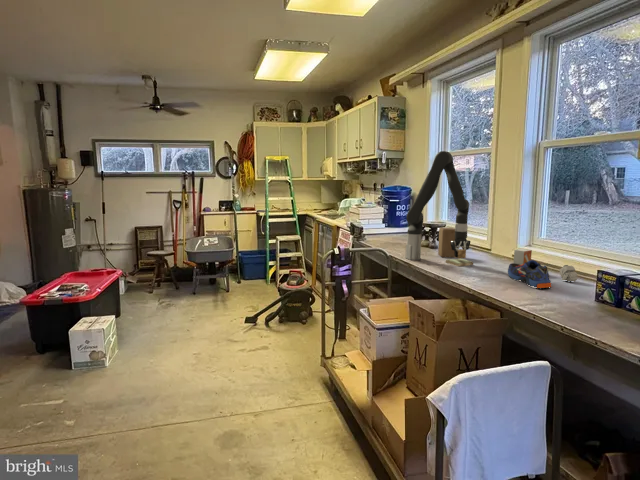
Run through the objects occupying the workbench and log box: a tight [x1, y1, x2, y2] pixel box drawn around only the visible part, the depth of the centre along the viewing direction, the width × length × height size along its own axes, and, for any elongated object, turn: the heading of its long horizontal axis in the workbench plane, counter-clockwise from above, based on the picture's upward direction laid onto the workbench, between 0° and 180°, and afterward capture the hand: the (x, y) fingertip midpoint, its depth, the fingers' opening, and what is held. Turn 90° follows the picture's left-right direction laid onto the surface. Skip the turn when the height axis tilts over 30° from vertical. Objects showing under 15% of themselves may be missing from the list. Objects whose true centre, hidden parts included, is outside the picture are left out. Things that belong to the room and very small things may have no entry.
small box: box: [513, 248, 532, 265], centre depth 245 cm, size 8×6×13 cm
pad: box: [445, 258, 474, 267], centre depth 267 cm, size 12×12×2 cm
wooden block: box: [437, 227, 456, 258], centre depth 290 cm, size 10×10×20 cm
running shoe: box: [507, 259, 552, 289], centre depth 220 cm, size 12×32×13 cm, turn 8°
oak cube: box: [453, 248, 467, 259], centre depth 266 cm, size 5×5×5 cm
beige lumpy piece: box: [559, 264, 578, 282], centre depth 222 cm, size 6×7×10 cm
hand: (459, 256), depth 266 cm, fingers closed on oak cube, 5 cm apart
